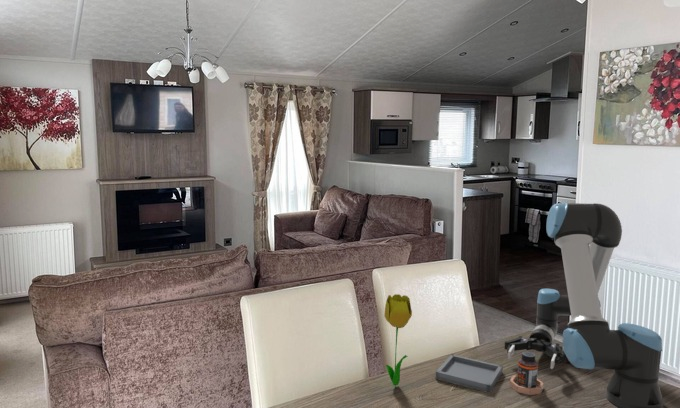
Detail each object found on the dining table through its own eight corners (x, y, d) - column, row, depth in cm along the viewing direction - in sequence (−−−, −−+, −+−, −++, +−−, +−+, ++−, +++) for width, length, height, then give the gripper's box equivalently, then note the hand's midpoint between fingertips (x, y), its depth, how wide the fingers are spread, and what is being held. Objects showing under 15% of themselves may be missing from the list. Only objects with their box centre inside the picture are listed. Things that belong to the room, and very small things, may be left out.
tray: (502, 372, 176) (502, 365, 176) (490, 392, 163) (490, 385, 162) (451, 360, 185) (451, 354, 185) (435, 378, 172) (435, 371, 171)
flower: (378, 389, 164) (380, 298, 160) (388, 378, 172) (390, 291, 167) (403, 395, 160) (406, 302, 156) (412, 384, 168) (415, 295, 163)
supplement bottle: (512, 384, 168) (514, 351, 167) (526, 381, 171) (528, 348, 169) (526, 393, 163) (528, 359, 161) (540, 389, 165) (542, 355, 164)
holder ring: (544, 384, 169) (545, 379, 168) (539, 397, 160) (539, 392, 160) (514, 377, 173) (514, 372, 173) (507, 389, 165) (508, 384, 165)
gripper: (577, 356, 184) (570, 380, 166) (506, 341, 197) (491, 362, 179) (579, 335, 183) (571, 358, 165) (507, 322, 196) (492, 341, 177)
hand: (530, 360), depth 172 cm, fingers open, 13 cm apart
